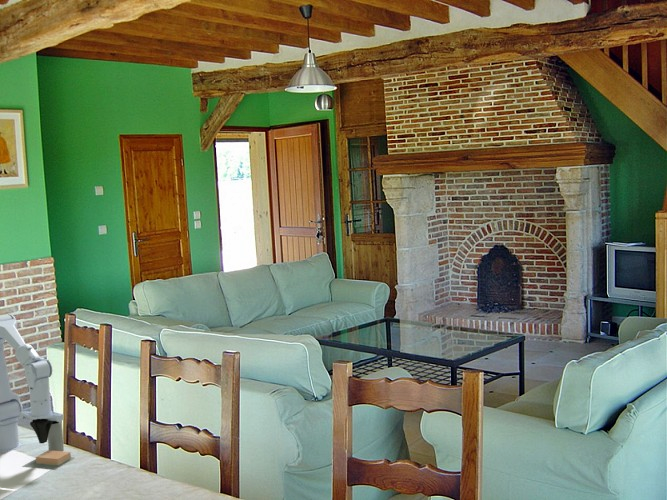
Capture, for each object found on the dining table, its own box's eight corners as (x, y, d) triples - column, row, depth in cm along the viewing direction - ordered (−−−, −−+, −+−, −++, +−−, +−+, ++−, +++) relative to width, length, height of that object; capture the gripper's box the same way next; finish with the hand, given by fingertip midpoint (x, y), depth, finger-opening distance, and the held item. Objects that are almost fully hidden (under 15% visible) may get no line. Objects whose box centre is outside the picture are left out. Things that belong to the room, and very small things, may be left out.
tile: (35, 456, 228) (57, 459, 226) (48, 450, 234) (70, 452, 232) (36, 464, 228) (58, 466, 226) (49, 457, 234) (70, 459, 232)
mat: (22, 467, 227) (21, 466, 227) (43, 456, 237) (43, 454, 237) (55, 471, 224) (55, 469, 223) (75, 459, 233) (75, 457, 233)
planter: (48, 451, 240) (46, 420, 239) (63, 449, 242) (61, 418, 241) (49, 456, 236) (47, 424, 235) (64, 453, 238) (62, 422, 237)
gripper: (11, 402, 228) (14, 445, 229) (51, 404, 223) (54, 448, 225) (27, 395, 234) (30, 437, 236) (66, 397, 230) (69, 440, 231)
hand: (43, 442), depth 231 cm, fingers closed
